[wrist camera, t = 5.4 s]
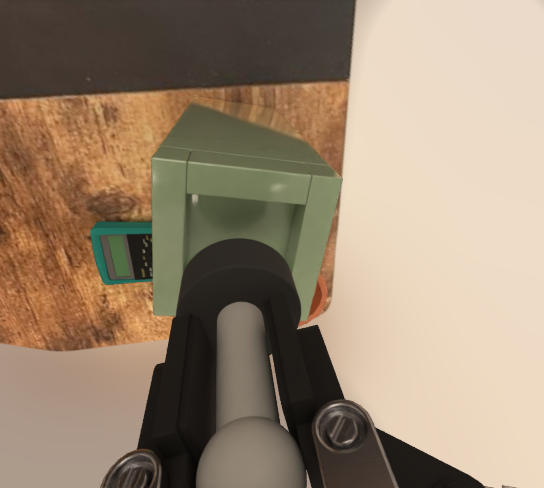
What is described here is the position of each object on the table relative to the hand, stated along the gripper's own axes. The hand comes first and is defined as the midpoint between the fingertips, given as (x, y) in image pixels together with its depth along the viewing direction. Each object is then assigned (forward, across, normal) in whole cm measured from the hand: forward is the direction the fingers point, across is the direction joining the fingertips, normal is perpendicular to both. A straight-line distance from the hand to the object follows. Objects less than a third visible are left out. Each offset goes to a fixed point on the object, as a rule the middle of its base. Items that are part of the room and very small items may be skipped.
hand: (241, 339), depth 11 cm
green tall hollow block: (+29, 0, 0) cm, 29 cm away
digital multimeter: (+29, +10, +10) cm, 32 cm away
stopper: (+3, 0, 0) cm, 3 cm away
